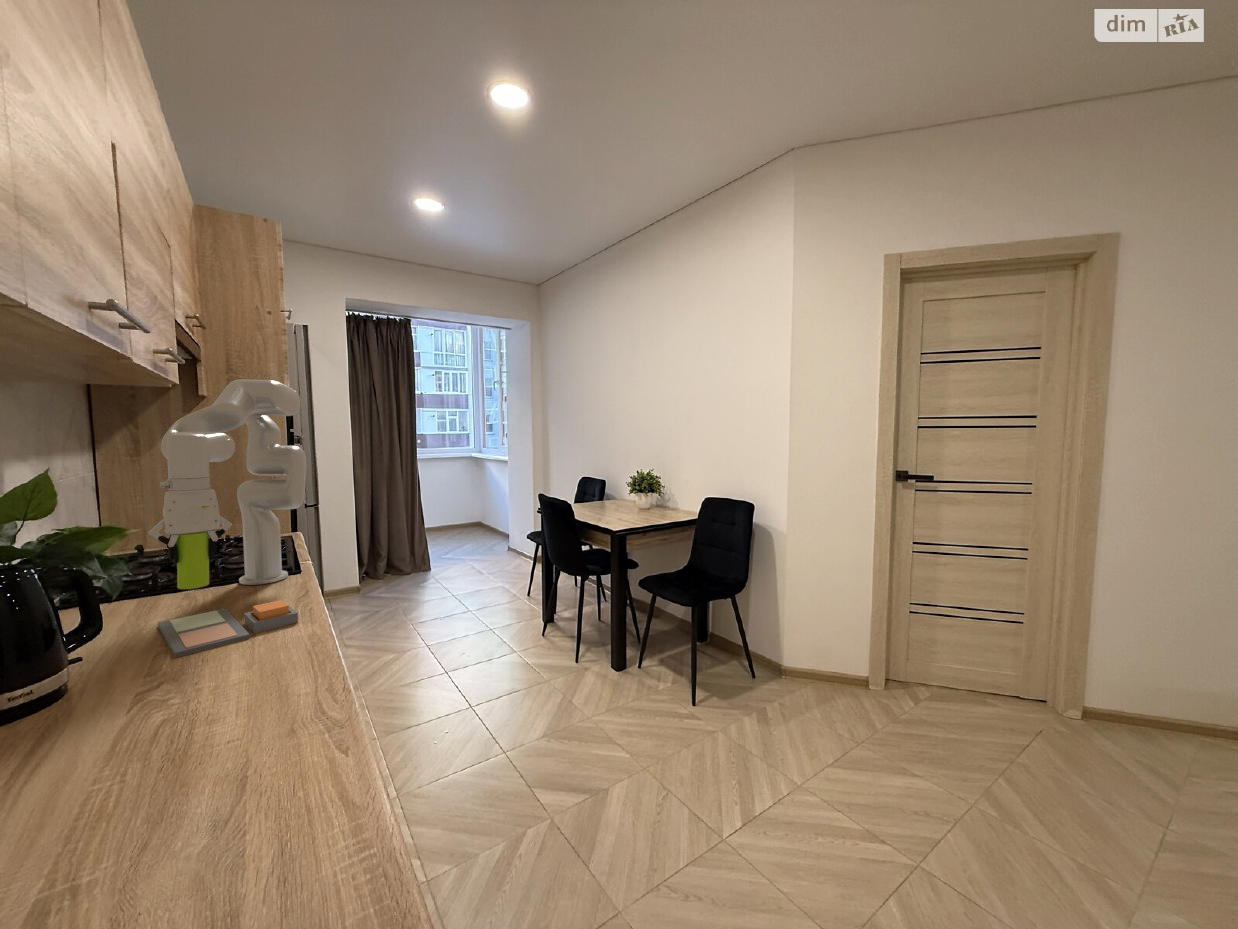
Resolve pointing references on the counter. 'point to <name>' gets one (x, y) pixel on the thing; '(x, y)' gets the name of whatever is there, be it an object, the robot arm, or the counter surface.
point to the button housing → (270, 621)
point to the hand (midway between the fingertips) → (193, 558)
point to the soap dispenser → (193, 560)
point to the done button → (270, 609)
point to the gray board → (202, 632)
